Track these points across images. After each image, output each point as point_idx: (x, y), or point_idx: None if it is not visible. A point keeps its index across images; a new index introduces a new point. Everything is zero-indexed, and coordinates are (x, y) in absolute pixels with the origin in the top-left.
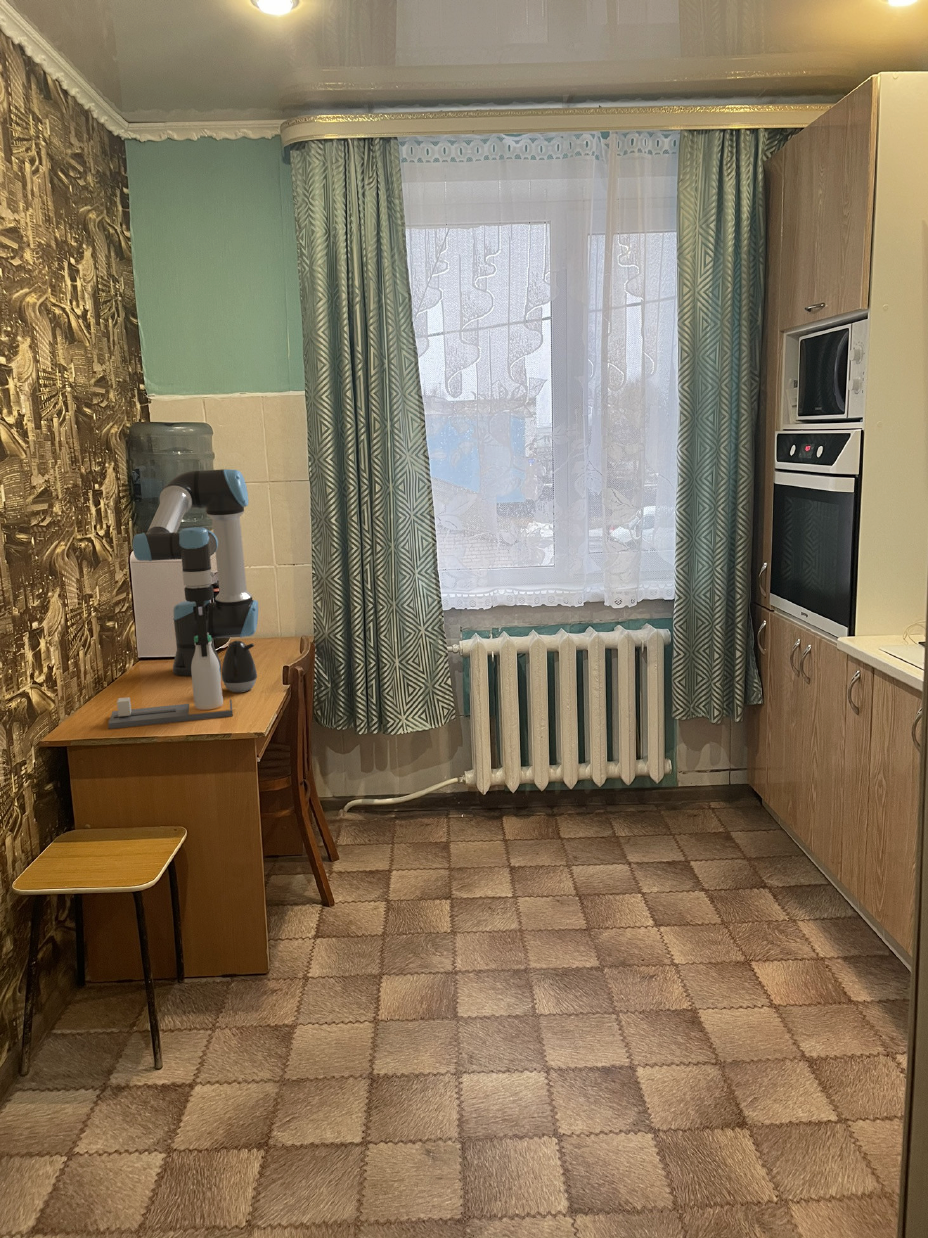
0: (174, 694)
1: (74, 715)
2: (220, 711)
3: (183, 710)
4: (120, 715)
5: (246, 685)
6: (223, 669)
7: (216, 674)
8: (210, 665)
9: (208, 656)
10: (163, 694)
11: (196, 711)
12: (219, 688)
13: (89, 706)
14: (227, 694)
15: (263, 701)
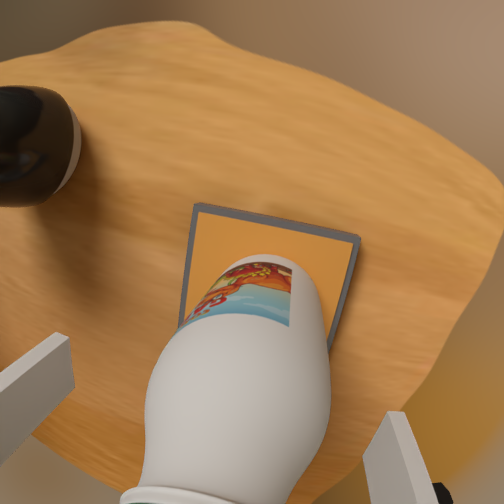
0: (35, 325)
1: None
2: (345, 279)
3: None
4: None
5: (78, 128)
6: (7, 205)
7: (318, 337)
8: (407, 422)
9: (421, 473)
10: (30, 345)
11: None
12: (306, 294)
13: (85, 467)
14: (77, 194)
15: (223, 90)
